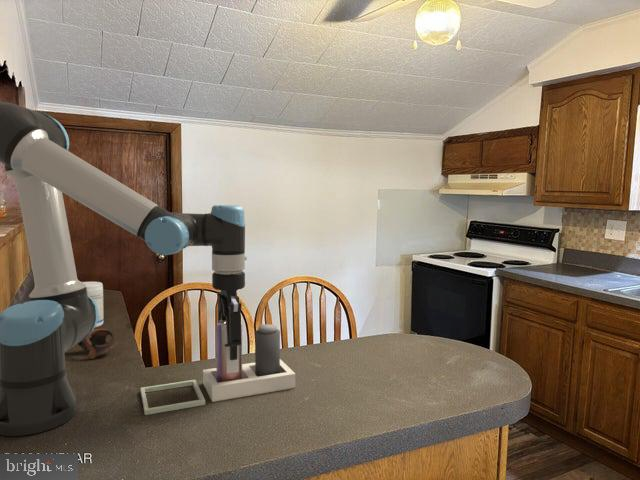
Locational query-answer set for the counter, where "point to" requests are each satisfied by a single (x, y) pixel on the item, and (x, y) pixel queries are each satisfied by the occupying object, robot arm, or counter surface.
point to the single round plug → (267, 350)
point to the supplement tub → (96, 298)
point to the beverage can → (221, 354)
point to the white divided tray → (248, 383)
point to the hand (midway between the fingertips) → (229, 367)
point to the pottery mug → (98, 342)
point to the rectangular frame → (172, 406)
